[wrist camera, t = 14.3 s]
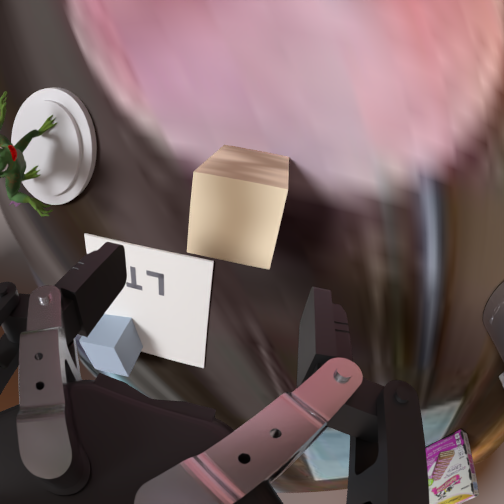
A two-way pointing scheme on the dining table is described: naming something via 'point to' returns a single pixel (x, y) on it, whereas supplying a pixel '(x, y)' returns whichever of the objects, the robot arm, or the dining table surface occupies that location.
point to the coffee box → (502, 379)
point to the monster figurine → (48, 149)
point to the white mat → (164, 300)
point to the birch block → (238, 205)
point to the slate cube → (113, 345)
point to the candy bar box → (451, 470)
